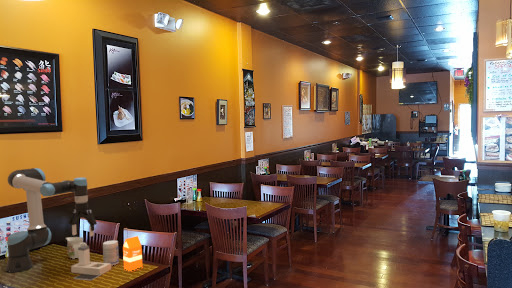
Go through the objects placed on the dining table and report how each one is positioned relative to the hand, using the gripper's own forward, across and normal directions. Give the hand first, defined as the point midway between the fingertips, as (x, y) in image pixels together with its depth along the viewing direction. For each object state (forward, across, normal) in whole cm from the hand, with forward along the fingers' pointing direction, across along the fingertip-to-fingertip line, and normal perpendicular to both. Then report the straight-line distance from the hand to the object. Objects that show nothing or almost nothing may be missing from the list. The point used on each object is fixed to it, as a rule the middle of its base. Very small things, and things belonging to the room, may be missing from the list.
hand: (83, 235), depth 244 cm
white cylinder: (+21, 0, 0) cm, 21 cm away
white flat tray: (+22, +5, 0) cm, 23 cm away
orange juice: (+23, +29, +10) cm, 38 cm away
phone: (+23, +10, -10) cm, 27 cm away
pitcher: (+23, -25, +20) cm, 39 cm away
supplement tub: (+23, +9, +14) cm, 28 cm away
